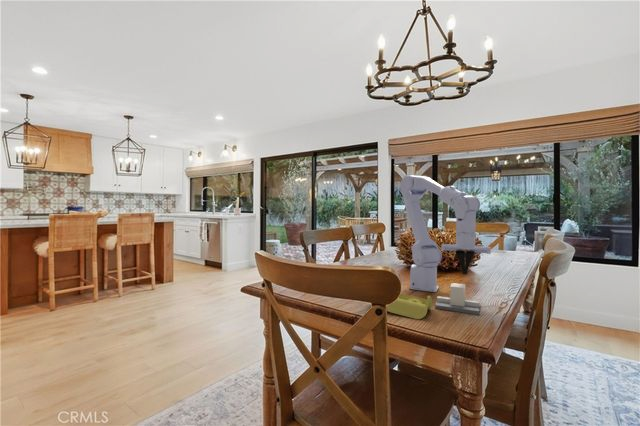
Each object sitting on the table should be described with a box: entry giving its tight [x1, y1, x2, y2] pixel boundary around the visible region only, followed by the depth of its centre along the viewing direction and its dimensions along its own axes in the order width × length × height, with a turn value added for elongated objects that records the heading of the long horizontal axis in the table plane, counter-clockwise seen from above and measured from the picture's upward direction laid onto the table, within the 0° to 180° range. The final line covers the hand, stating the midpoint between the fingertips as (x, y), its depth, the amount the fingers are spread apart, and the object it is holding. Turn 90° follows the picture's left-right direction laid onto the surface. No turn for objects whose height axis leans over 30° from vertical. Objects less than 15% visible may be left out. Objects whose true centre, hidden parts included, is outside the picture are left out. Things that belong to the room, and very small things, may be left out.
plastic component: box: [386, 293, 434, 320], centre depth 95 cm, size 20×7×10 cm
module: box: [449, 282, 466, 306], centre depth 97 cm, size 4×5×6 cm
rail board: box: [434, 295, 480, 316], centre depth 97 cm, size 12×10×2 cm
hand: (464, 273), depth 102 cm, fingers closed
